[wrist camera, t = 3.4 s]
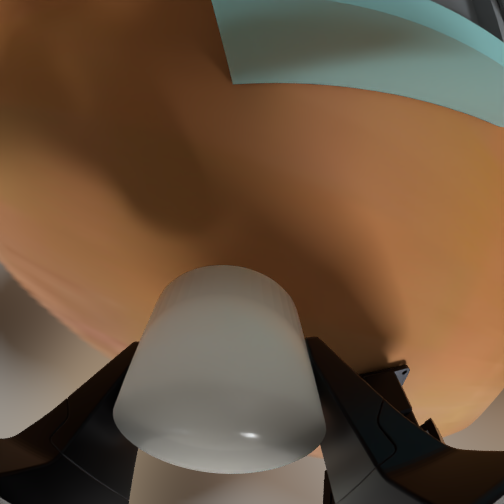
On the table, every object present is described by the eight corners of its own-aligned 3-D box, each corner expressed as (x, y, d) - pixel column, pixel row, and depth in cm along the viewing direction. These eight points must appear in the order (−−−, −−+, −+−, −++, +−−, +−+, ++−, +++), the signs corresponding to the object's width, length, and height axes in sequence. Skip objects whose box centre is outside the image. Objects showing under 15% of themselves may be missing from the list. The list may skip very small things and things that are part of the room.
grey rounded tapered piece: (294, 372, 11) (311, 468, 6) (172, 375, 10) (152, 466, 6) (302, 260, 8) (345, 372, 4) (139, 268, 8) (76, 370, 4)
